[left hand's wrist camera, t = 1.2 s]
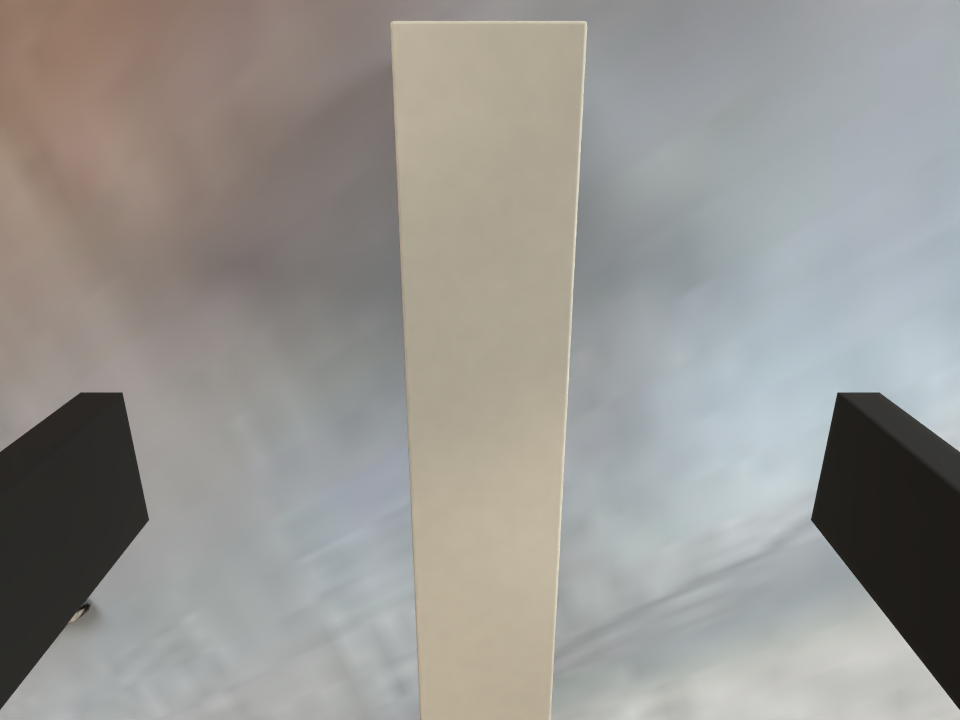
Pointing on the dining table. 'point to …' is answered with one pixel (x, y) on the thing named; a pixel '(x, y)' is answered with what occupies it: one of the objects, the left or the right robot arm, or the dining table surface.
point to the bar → (487, 346)
